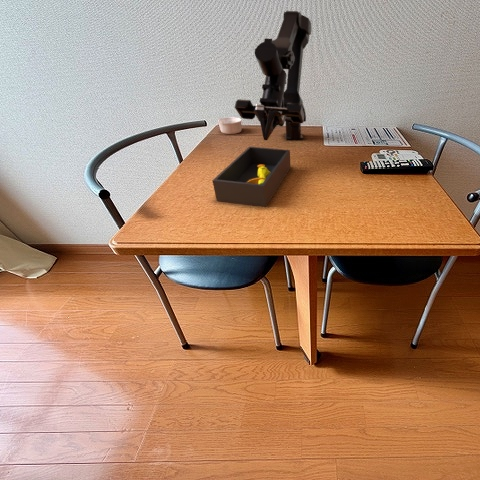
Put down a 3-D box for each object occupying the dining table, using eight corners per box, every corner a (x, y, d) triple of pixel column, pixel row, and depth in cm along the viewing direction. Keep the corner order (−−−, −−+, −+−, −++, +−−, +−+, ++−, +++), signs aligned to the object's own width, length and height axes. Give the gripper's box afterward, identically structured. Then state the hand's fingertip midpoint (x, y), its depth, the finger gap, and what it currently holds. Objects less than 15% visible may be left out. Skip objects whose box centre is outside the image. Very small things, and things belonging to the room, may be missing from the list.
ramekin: (223, 127, 117) (221, 116, 114) (245, 128, 117) (243, 117, 114) (216, 134, 110) (214, 122, 107) (240, 135, 110) (238, 123, 107)
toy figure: (250, 174, 82) (247, 197, 72) (247, 163, 79) (243, 185, 70) (274, 171, 82) (273, 193, 73) (271, 159, 79) (270, 181, 70)
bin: (251, 164, 88) (249, 146, 85) (290, 168, 87) (289, 150, 83) (216, 201, 70) (212, 180, 66) (265, 206, 68) (263, 185, 65)
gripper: (310, 107, 88) (302, 155, 87) (252, 103, 91) (243, 149, 89) (304, 82, 77) (295, 137, 76) (239, 78, 80) (228, 131, 78)
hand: (265, 139), depth 80 cm, fingers closed
